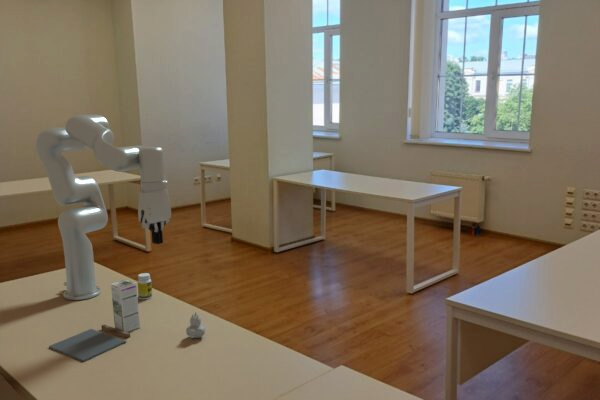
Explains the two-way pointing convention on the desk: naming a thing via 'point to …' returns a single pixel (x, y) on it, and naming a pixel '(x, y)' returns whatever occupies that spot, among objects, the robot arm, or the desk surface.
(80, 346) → the mat
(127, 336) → the strip
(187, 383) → the desk surface
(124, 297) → the syrup box
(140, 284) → the supplement bottle
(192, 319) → the white irregular lump
